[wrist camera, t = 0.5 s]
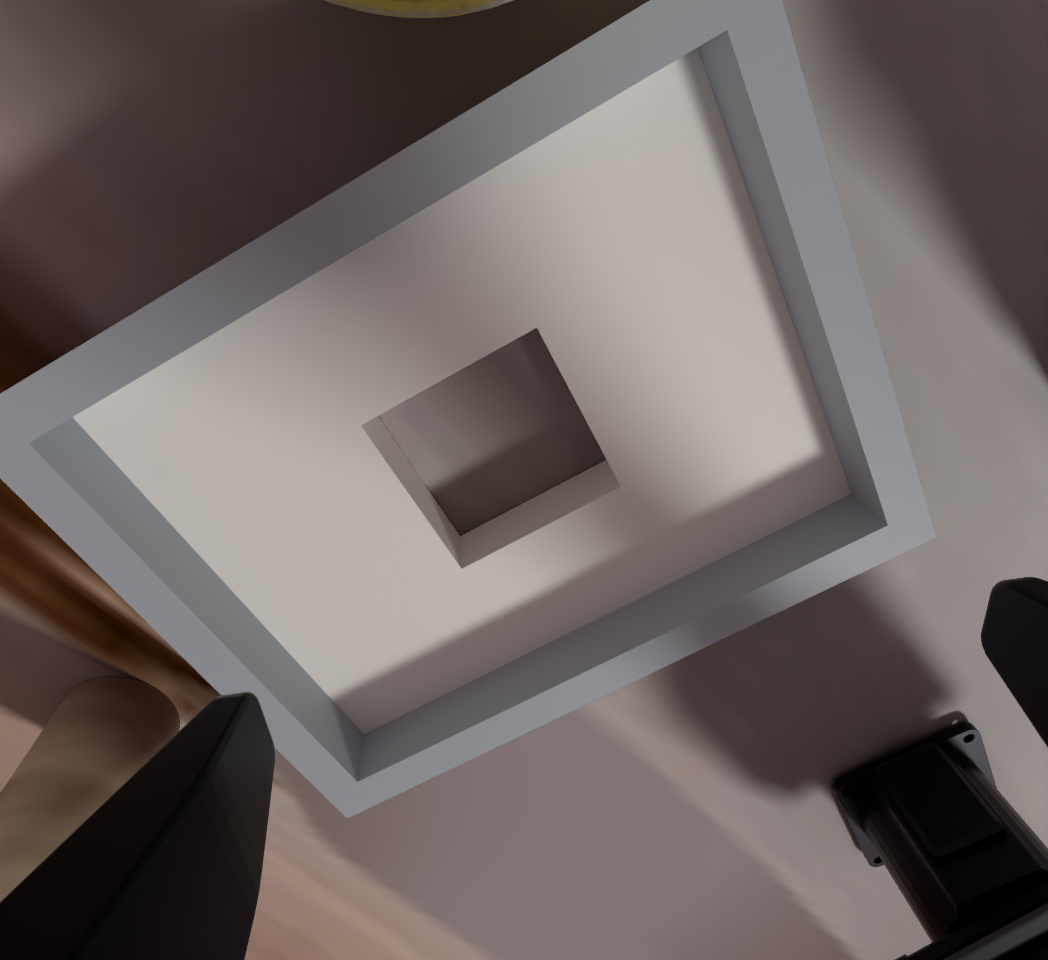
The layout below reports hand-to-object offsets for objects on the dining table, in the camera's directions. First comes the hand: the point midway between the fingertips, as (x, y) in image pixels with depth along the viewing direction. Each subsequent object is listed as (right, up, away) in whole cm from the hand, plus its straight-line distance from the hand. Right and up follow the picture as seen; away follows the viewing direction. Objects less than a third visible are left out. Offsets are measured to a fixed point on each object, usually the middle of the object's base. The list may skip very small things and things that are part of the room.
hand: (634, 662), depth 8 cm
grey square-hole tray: (-2, +4, +13) cm, 14 cm away
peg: (-16, -6, +17) cm, 24 cm away
